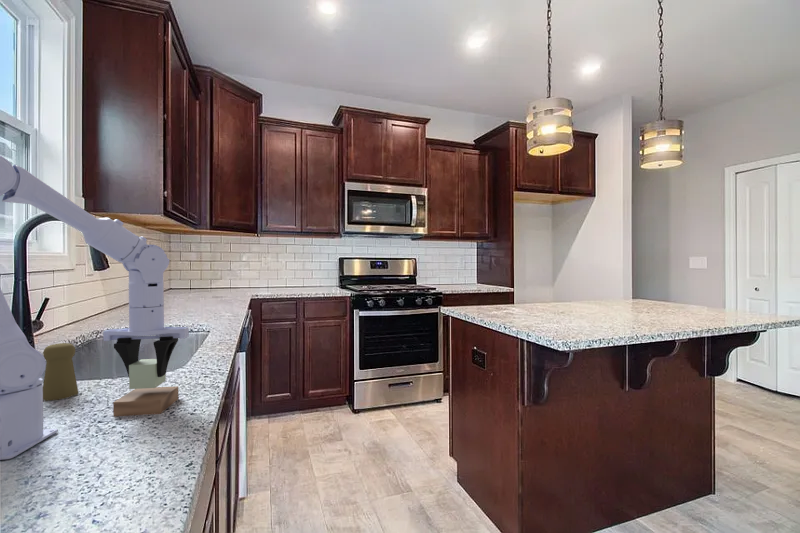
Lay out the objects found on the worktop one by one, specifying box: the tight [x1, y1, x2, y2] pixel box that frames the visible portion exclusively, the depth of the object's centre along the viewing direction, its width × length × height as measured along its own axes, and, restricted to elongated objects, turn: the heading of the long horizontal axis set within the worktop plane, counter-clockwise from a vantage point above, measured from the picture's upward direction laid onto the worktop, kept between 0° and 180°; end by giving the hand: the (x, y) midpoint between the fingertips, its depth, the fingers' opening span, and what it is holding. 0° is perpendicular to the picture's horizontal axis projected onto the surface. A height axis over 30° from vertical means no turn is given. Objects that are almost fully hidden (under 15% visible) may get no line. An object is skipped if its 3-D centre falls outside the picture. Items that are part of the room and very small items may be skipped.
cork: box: [42, 342, 79, 402], centre depth 83 cm, size 6×6×11 cm
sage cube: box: [128, 358, 167, 390], centre depth 76 cm, size 4×4×4 cm
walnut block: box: [112, 385, 179, 417], centre depth 76 cm, size 8×8×3 cm
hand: (147, 376), depth 76 cm, fingers closed on sage cube, 4 cm apart
